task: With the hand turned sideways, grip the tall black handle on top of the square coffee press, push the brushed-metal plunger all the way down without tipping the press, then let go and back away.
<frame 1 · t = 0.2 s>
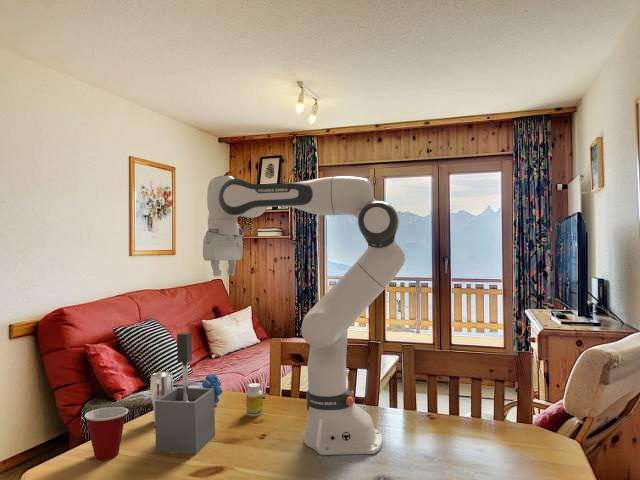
hand: (224, 275, 132), 47 cm above the table, tool pointing down, fingers open, 8 cm apart
supplement bottle: (254, 414, 147), on the table
grapes: (214, 408, 153), on the table
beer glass: (162, 421, 143), on the table
plunger: (185, 371, 126), point 21 cm above the table, slide at 8.0 cm
plastic cup: (107, 456, 120), on the table
press: (186, 443, 126), on the table
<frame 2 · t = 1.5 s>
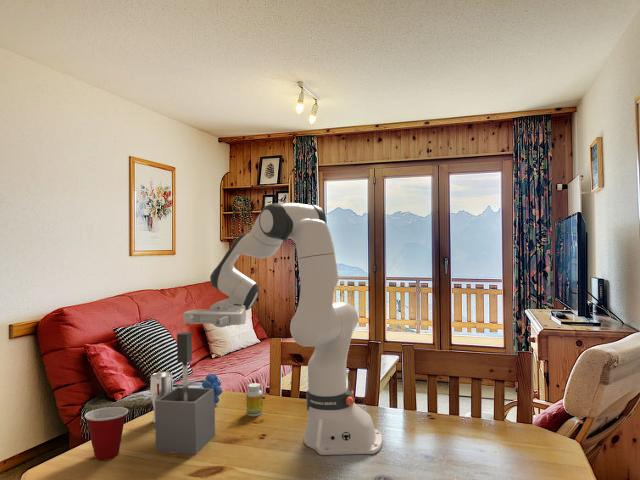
hand: (204, 321, 139), 33 cm above the table, tool horizontal, fingers open, 8 cm apart
nothing on the table moved.
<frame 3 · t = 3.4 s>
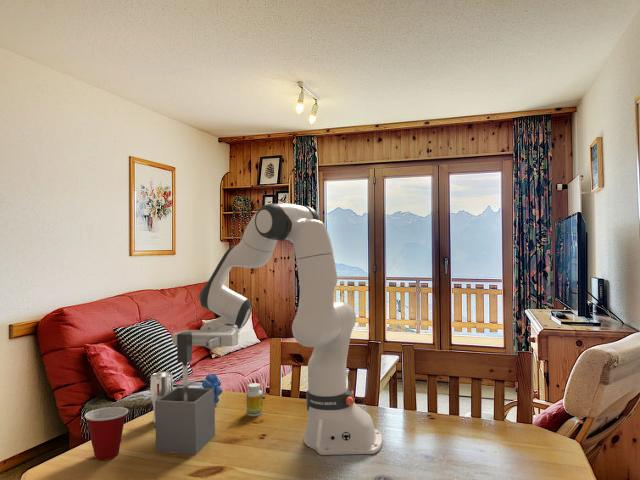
hand: (193, 343, 131), 27 cm above the table, tool horizontal, fingers open, 8 cm apart
nothing on the table moved.
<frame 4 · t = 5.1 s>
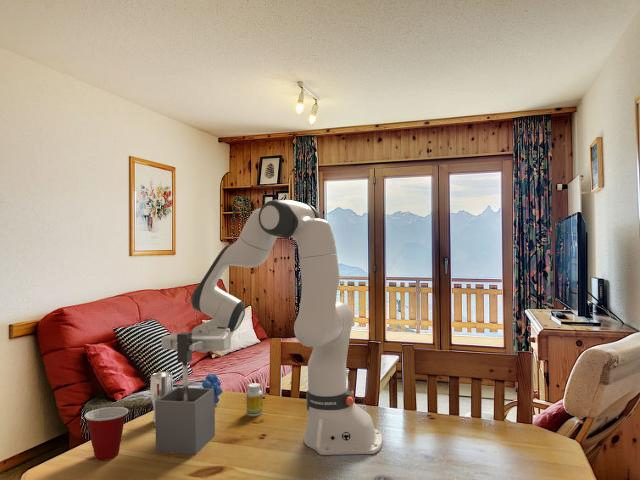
hand: (183, 347, 125), 28 cm above the table, tool horizontal, fingers closed on plunger, 3 cm apart
plunger: (185, 371, 126), point 21 cm above the table, slide at 8.0 cm, touching gripper
everything else where it was.
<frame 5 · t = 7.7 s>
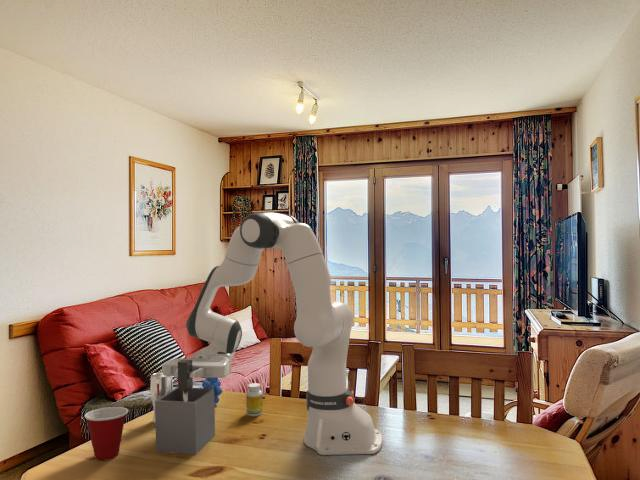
hand: (183, 375, 125), 20 cm above the table, tool horizontal, fingers closed on plunger, 3 cm apart
plunger: (185, 399, 126), point 13 cm above the table, slide at 0.1 cm, touching gripper
everything else where it was.
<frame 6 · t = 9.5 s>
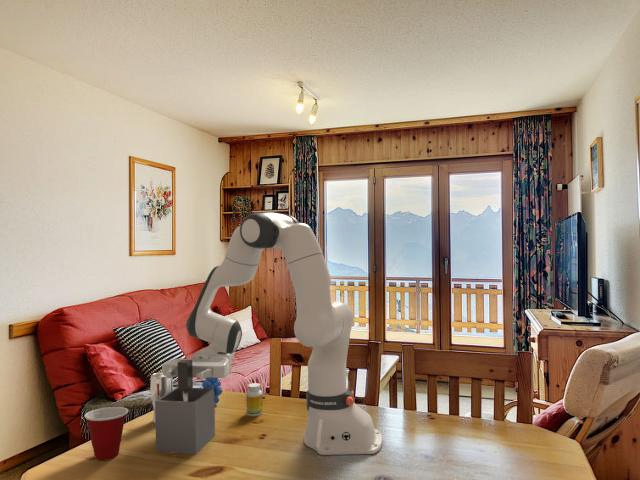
hand: (183, 376, 125), 20 cm above the table, tool horizontal, fingers open, 8 cm apart
plunger: (185, 399, 126), point 13 cm above the table, slide at 0.0 cm
everything else where it was.
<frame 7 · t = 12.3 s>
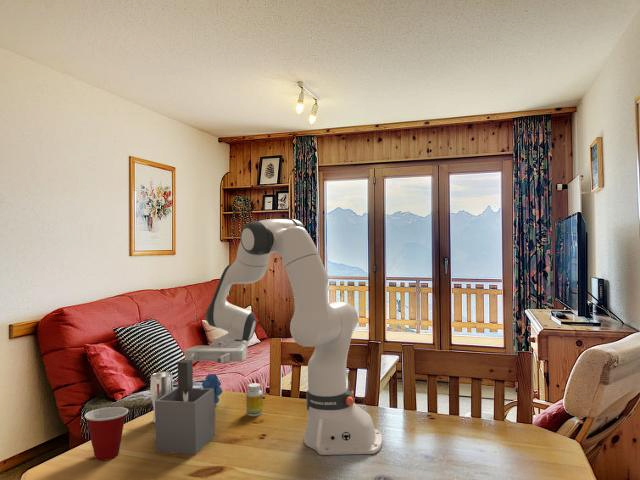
hand: (205, 359, 138), 21 cm above the table, tool horizontal, fingers open, 8 cm apart
nothing on the table moved.
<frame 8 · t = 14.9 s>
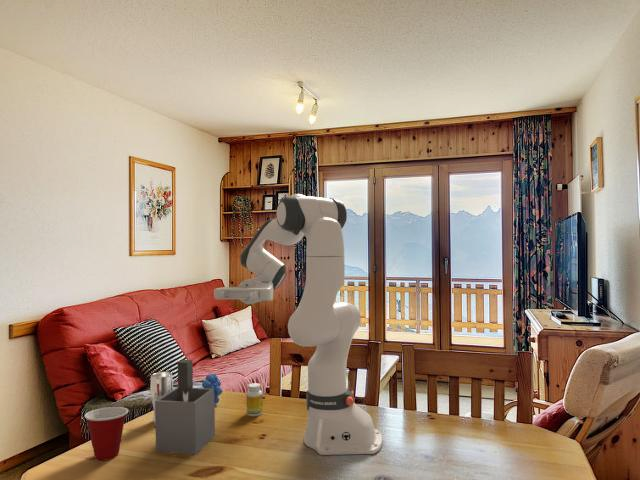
hand: (235, 295, 143), 40 cm above the table, tool horizontal, fingers open, 8 cm apart
nothing on the table moved.
at the end: plunger slide at 0.0 cm; press tilted 0°; the gripper is holding nothing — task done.
